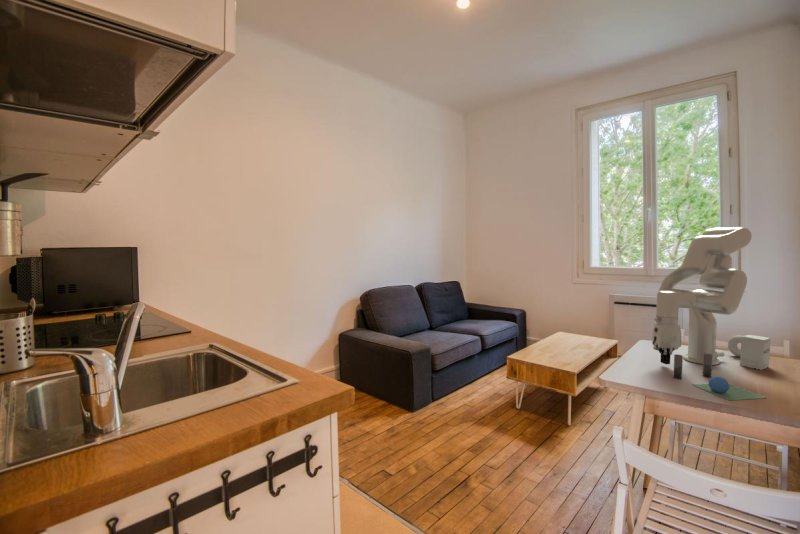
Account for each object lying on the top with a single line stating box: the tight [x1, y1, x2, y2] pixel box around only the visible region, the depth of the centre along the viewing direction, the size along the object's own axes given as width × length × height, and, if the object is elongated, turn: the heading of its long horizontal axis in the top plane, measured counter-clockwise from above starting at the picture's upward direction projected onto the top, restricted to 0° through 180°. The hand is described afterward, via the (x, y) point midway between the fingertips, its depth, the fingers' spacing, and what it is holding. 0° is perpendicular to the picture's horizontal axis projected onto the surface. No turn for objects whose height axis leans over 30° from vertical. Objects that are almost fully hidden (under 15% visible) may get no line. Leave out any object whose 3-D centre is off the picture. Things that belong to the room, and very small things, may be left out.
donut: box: [727, 335, 743, 358], centre depth 173 cm, size 10×4×10 cm, turn 18°
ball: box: [708, 376, 730, 393], centre depth 133 cm, size 6×6×6 cm
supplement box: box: [739, 334, 772, 371], centre depth 160 cm, size 7×7×13 cm
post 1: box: [673, 354, 684, 381], centre depth 147 cm, size 3×3×9 cm
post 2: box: [702, 353, 713, 379], centre depth 148 cm, size 3×3×9 cm
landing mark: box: [692, 383, 767, 402], centre depth 134 cm, size 14×14×1 cm
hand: (665, 363), depth 160 cm, fingers closed
